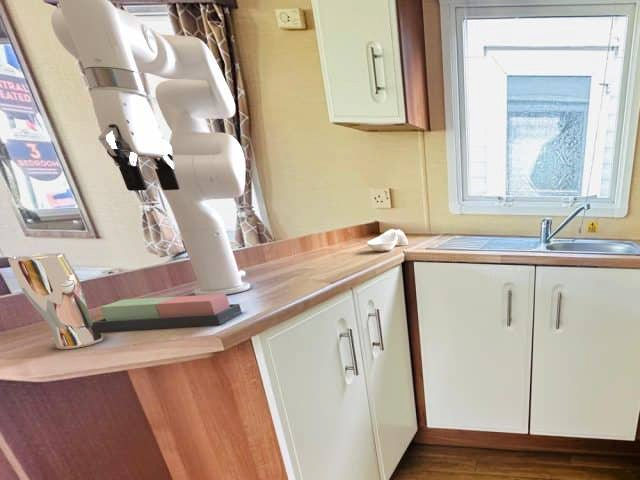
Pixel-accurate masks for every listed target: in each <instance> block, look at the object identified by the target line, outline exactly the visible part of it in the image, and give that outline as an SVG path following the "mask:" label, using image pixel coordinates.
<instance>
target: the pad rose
mask: <svg viewBox="0 0 640 480" xmlns="http://www.w3.org/2000/svg"><path fill="white" fill-rule="evenodd" d="M172 297H173V298H171V299H168V300H165V301H163V302H160V303H157V304H156V306H157V308H158V311H159V313H160V316H161V318H166V317H183V316H200V315H216V314H218V313H220V312H222V311H224V310H226V309H228V308H230V305H229V304H230V302H229V298H228V296H227V295H226V294H214V295H183V296H182V295H181V296H172Z"/></svg>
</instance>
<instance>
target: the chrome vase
mask: <svg viewBox="0 0 640 480" xmlns="http://www.w3.org/2000/svg"><path fill="white" fill-rule="evenodd" d="M7 261H8V263H9V266H10V267H11V270H12V272H13V275H14V277H15V279H16V281H17V283H18V285H19V288H20V290H21V291H22V293H23V294H24V295H25V297H26V299H27V300H28V301H29V302H30V304H31V305H32V306H33V307H34V309H35V310H36V311H37V313H39V315H40V316H41V317H42V318H43V321H45V322H46V324H47V325H48V327H49V329H50V331H51V333H52V336H53V339H54V340H53V341H54V343H55V347H56V348H57V349H58V350H71V349H73V350H74V349H78V348H84V347H88V346H92V345H95V344H97V343H100V342H102V341H103V340H104V336H103V335H102V334H101V332H98V330H97V329H96V328H95V326H94V325H93V321H92V319H91V316H90V313H89V309H88V305H87V301H86V296H85V293H84V289H83V287H82V283H81V281H80V279H79V277H78V275H77V272H75V270H74V268H73V266H72V264H71V263H70V261H69V260H68V258H67V256H66V253H63V252H55V253H53V252H52V253H41V254H30V255H21V256H16V257H9V258H7Z"/></svg>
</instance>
